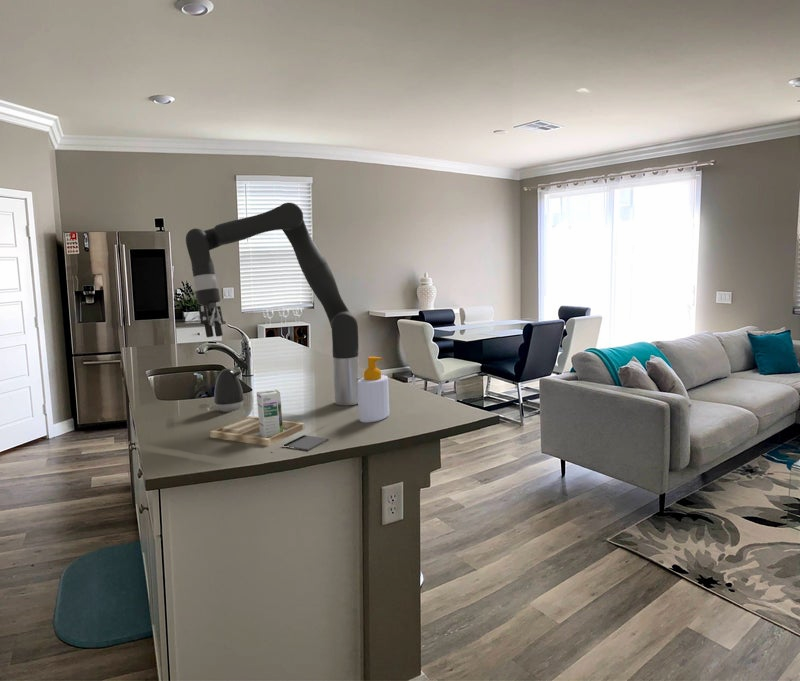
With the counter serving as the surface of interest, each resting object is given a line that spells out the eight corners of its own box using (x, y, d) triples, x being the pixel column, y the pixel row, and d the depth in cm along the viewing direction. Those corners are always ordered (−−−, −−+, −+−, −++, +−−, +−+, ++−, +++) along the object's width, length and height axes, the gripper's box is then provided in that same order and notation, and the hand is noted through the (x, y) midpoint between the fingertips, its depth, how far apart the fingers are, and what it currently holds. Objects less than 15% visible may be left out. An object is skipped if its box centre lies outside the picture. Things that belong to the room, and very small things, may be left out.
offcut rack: (210, 441, 172) (209, 431, 172) (249, 425, 187) (249, 416, 187) (268, 450, 162) (268, 439, 162) (305, 432, 177) (304, 423, 177)
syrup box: (264, 443, 168) (261, 394, 166) (259, 437, 174) (256, 390, 171) (283, 439, 171) (280, 391, 169) (278, 434, 176) (275, 388, 174)
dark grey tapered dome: (236, 414, 201) (233, 371, 198) (209, 414, 203) (205, 371, 200) (250, 407, 210) (247, 366, 208) (224, 406, 212) (220, 365, 210)
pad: (279, 446, 165) (279, 444, 165) (300, 436, 174) (300, 434, 173) (308, 450, 160) (308, 449, 160) (328, 440, 169) (328, 438, 169)
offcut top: (222, 434, 174) (222, 427, 173) (248, 424, 183) (248, 418, 183) (238, 437, 171) (238, 430, 170) (264, 426, 180) (263, 420, 180)
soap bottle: (373, 424, 183) (370, 361, 180) (352, 421, 187) (349, 359, 184) (395, 414, 194) (393, 354, 191) (375, 411, 198) (372, 353, 196)
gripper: (209, 286, 187) (218, 335, 187) (224, 288, 201) (232, 334, 202) (187, 289, 187) (195, 339, 188) (204, 291, 202) (212, 337, 202)
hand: (214, 336), depth 195 cm, fingers open, 8 cm apart
